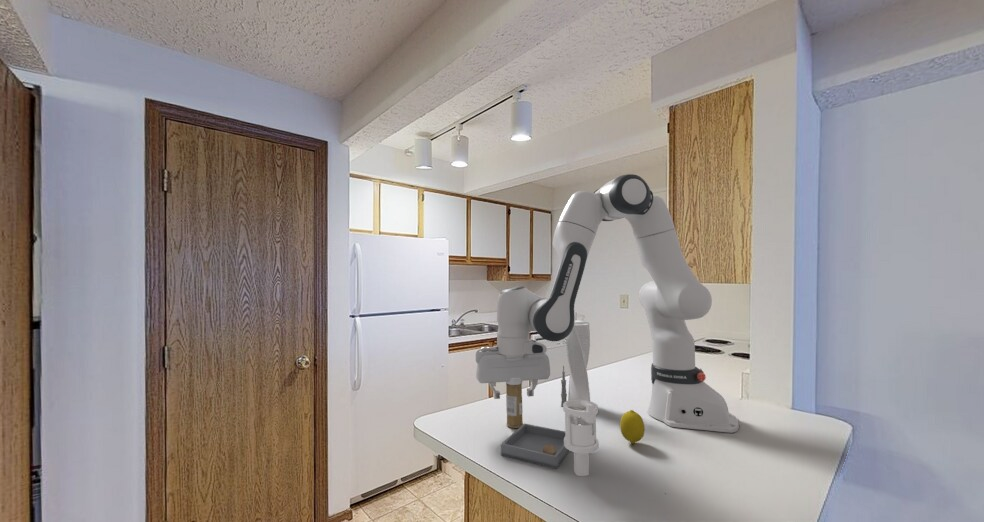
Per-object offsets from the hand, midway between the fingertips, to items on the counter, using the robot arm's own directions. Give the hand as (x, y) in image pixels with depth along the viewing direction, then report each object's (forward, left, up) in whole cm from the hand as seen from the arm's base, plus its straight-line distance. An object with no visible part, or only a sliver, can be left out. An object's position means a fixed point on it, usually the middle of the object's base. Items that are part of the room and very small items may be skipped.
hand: (513, 397), depth 104 cm
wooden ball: (-15, +14, -6) cm, 22 cm away
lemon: (-30, -3, -8) cm, 31 cm away
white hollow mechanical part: (-23, +15, -8) cm, 29 cm away
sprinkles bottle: (0, 0, -8) cm, 8 cm away
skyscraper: (-11, -23, -8) cm, 27 cm away
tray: (-11, +10, -8) cm, 17 cm away
